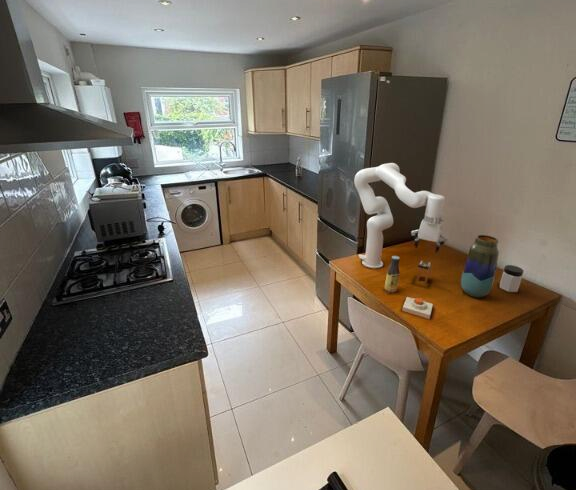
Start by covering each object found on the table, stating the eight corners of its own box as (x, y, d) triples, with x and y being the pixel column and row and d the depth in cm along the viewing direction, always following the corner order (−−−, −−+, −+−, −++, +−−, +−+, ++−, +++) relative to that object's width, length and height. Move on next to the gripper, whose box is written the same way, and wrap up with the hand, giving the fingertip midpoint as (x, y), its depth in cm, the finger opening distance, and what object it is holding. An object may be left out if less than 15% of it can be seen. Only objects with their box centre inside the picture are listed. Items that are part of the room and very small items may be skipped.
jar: (521, 290, 160) (528, 270, 156) (512, 294, 157) (518, 274, 153) (504, 282, 168) (509, 263, 164) (495, 286, 165) (500, 266, 160)
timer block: (402, 310, 144) (403, 303, 143) (406, 300, 152) (407, 293, 151) (429, 319, 138) (430, 311, 137) (432, 307, 146) (433, 300, 145)
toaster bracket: (428, 288, 163) (432, 268, 158) (412, 284, 166) (415, 265, 162) (430, 279, 171) (434, 261, 167) (415, 276, 174) (419, 257, 170)
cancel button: (413, 303, 143) (414, 300, 143) (415, 299, 146) (415, 296, 146) (422, 306, 141) (422, 302, 141) (423, 302, 144) (423, 299, 144)
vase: (494, 295, 156) (509, 240, 145) (480, 303, 149) (495, 246, 138) (467, 283, 167) (480, 231, 156) (453, 290, 160) (465, 236, 149)
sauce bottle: (390, 295, 155) (395, 261, 148) (381, 289, 161) (385, 256, 154) (399, 292, 158) (404, 258, 151) (390, 286, 163) (395, 253, 157)
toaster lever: (428, 270, 156) (428, 266, 155) (417, 268, 158) (418, 263, 158) (429, 269, 165) (430, 264, 165) (419, 266, 168) (420, 262, 167)
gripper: (452, 220, 150) (445, 251, 156) (415, 213, 158) (410, 243, 165) (450, 224, 144) (443, 256, 150) (412, 217, 152) (407, 248, 159)
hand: (426, 249), depth 158 cm, fingers open, 9 cm apart
